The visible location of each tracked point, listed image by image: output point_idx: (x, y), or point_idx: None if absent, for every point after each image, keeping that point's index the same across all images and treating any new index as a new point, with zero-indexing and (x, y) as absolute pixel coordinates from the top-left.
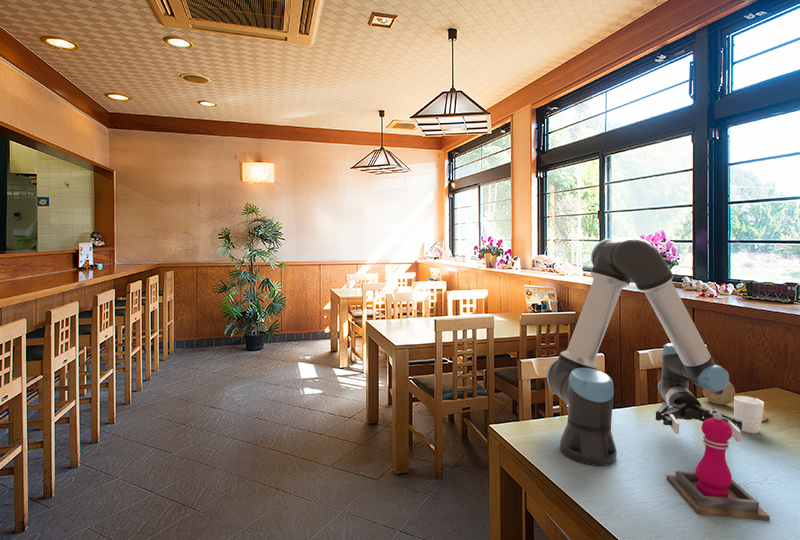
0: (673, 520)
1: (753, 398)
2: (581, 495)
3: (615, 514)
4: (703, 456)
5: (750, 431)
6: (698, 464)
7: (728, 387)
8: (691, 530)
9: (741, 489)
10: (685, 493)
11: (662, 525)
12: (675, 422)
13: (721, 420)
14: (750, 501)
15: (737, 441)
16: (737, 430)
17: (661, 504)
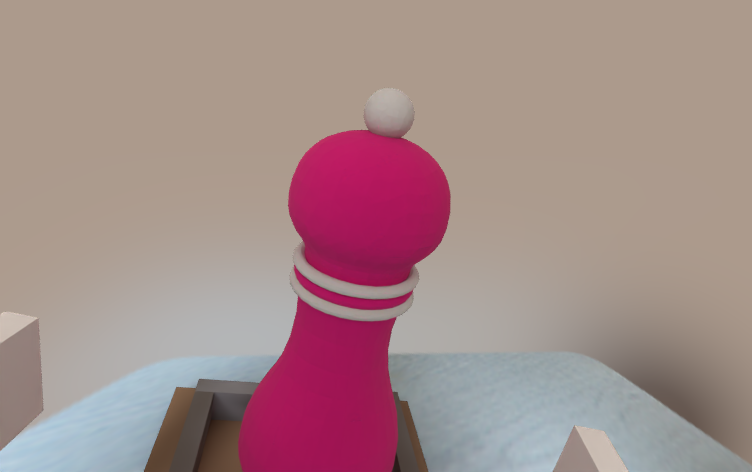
0: (473, 386)
1: None
2: (724, 466)
3: (604, 398)
4: (386, 374)
5: None
6: (395, 420)
7: None
8: (436, 360)
9: (183, 457)
10: None
11: (498, 371)
12: (613, 448)
13: (364, 130)
14: (225, 384)
15: (40, 407)
16: (22, 326)
17: (503, 447)
